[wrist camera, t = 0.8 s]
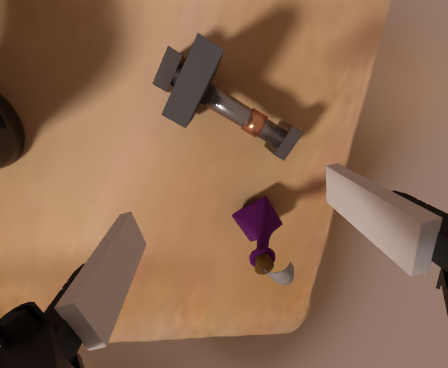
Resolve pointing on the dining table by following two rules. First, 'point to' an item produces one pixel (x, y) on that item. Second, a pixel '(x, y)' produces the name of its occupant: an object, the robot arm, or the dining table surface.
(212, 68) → the collar
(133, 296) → the dining table surface
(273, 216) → the perfume bottle
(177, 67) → the pipe stand
